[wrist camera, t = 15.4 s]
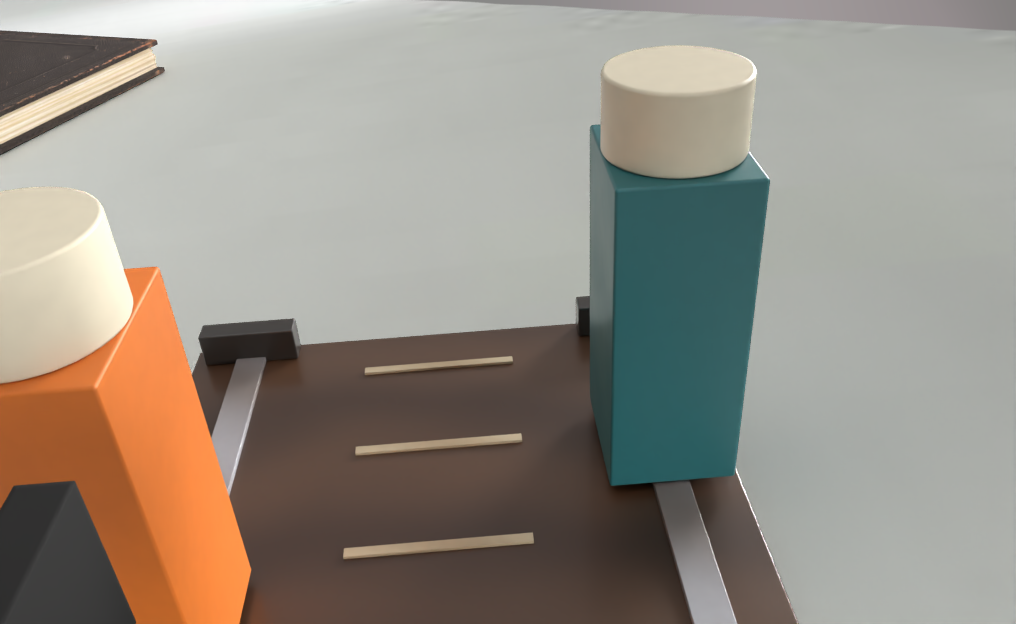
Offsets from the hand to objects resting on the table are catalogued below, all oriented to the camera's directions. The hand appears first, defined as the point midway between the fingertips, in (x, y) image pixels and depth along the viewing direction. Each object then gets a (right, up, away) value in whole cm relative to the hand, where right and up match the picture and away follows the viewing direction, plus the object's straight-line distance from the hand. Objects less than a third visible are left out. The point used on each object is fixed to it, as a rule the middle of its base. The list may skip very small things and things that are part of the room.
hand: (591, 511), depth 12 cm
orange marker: (-9, -5, +9) cm, 14 cm away
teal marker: (+3, -1, +14) cm, 15 cm away
